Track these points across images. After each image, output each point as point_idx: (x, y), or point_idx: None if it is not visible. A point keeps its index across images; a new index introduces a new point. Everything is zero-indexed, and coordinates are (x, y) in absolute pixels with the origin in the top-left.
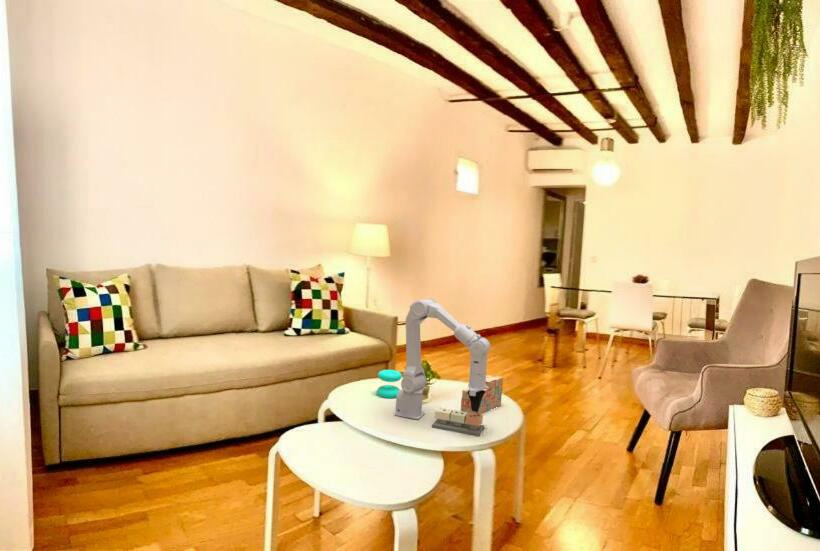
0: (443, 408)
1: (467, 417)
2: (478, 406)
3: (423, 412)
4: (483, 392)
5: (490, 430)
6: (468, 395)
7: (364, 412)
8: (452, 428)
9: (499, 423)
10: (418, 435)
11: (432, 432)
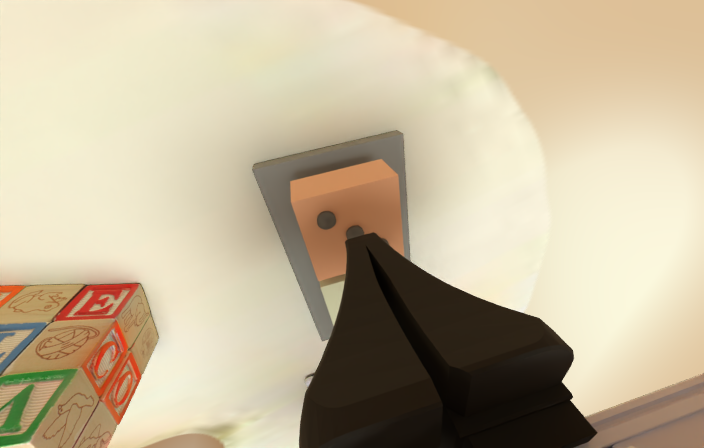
0: None
1: (402, 247)
2: (400, 255)
3: (308, 383)
4: (436, 403)
5: (255, 117)
6: (83, 434)
7: None
8: (409, 254)
9: (52, 123)
10: (495, 289)
11: (452, 280)
